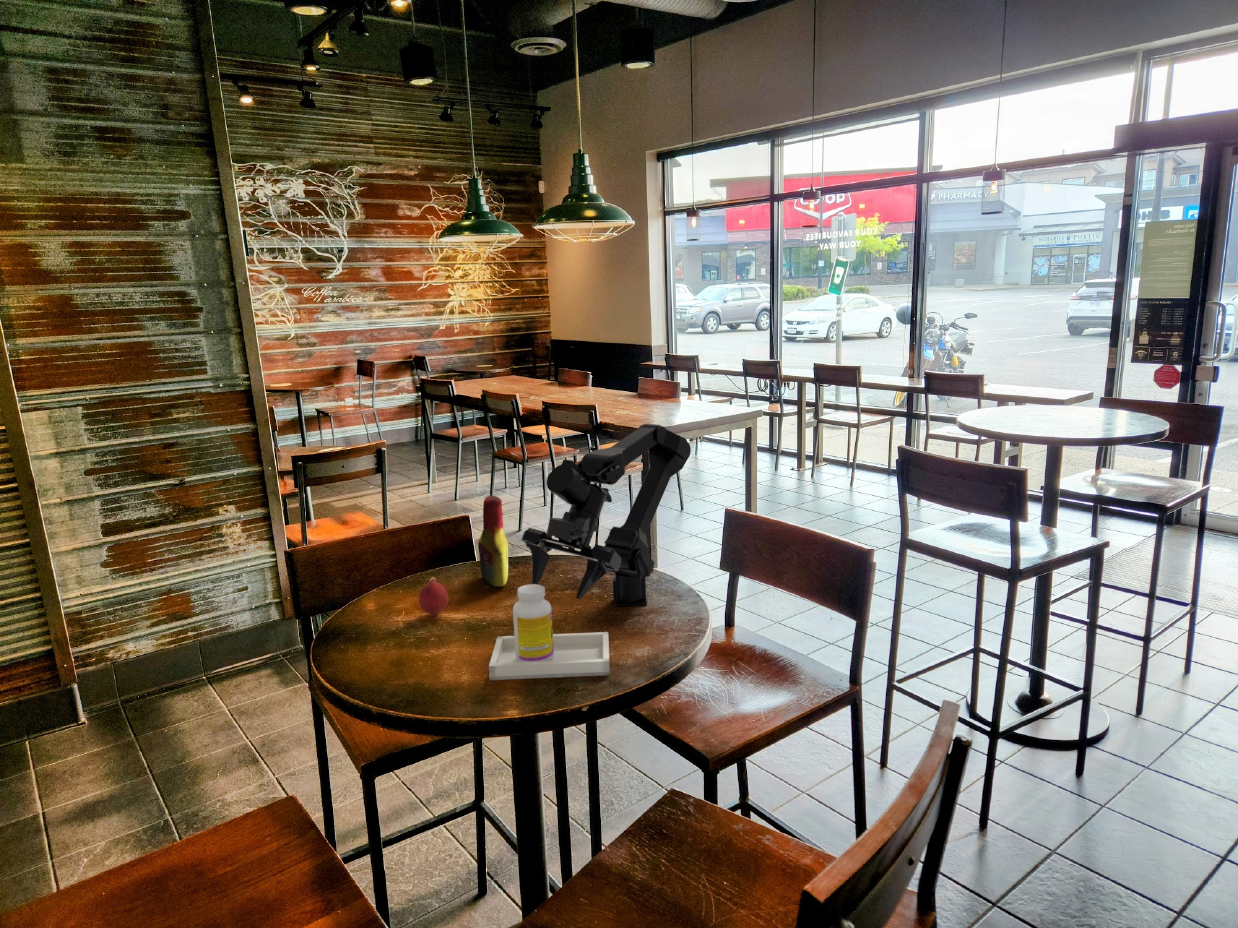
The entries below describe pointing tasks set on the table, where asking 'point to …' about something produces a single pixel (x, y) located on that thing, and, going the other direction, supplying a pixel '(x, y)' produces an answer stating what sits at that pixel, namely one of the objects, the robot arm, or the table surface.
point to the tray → (554, 658)
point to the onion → (433, 597)
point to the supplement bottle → (533, 625)
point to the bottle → (493, 544)
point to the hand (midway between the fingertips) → (555, 592)
